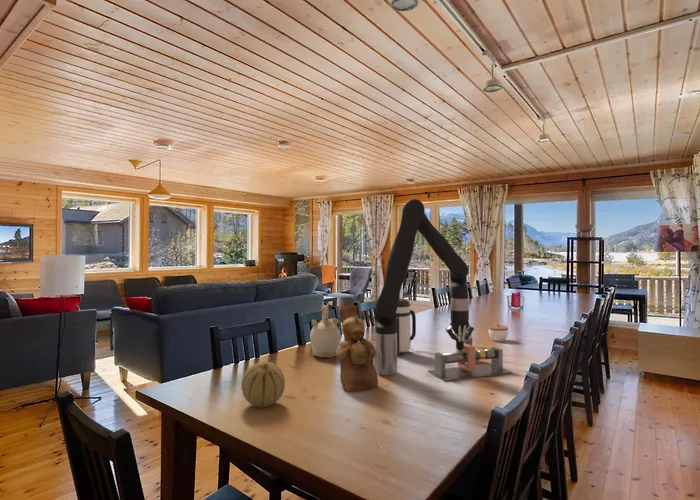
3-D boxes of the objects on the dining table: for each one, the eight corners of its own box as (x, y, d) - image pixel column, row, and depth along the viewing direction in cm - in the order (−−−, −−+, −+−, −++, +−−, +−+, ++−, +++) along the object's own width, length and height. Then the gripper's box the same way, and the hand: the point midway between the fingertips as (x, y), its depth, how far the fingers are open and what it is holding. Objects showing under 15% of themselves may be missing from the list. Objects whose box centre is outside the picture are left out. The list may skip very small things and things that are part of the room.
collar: (469, 371, 171) (469, 347, 171) (457, 365, 179) (457, 343, 179) (475, 370, 172) (475, 347, 172) (463, 365, 180) (463, 342, 180)
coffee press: (414, 357, 202) (413, 295, 202) (381, 355, 205) (381, 295, 205) (416, 348, 219) (415, 291, 219) (385, 347, 222) (385, 291, 222)
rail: (444, 381, 165) (444, 358, 165) (427, 371, 178) (427, 350, 178) (511, 373, 175) (511, 351, 175) (490, 364, 188) (490, 344, 188)
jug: (342, 351, 215) (341, 303, 215) (338, 359, 200) (338, 307, 200) (313, 350, 217) (312, 302, 217) (307, 358, 201) (306, 307, 201)
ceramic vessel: (343, 395, 151) (342, 312, 151) (330, 377, 172) (329, 304, 172) (384, 390, 155) (383, 310, 155) (366, 373, 176) (365, 303, 176)
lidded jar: (484, 339, 239) (484, 323, 239) (498, 337, 244) (498, 321, 244) (498, 343, 230) (497, 326, 230) (512, 341, 234) (512, 324, 234)
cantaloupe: (266, 394, 152) (266, 353, 152) (294, 403, 143) (293, 360, 143) (232, 406, 141) (231, 362, 141) (259, 417, 131) (259, 370, 131)
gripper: (450, 310, 169) (451, 353, 169) (478, 309, 173) (478, 350, 173) (441, 308, 176) (441, 349, 176) (468, 306, 180) (468, 346, 180)
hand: (460, 349), depth 175 cm, fingers closed
